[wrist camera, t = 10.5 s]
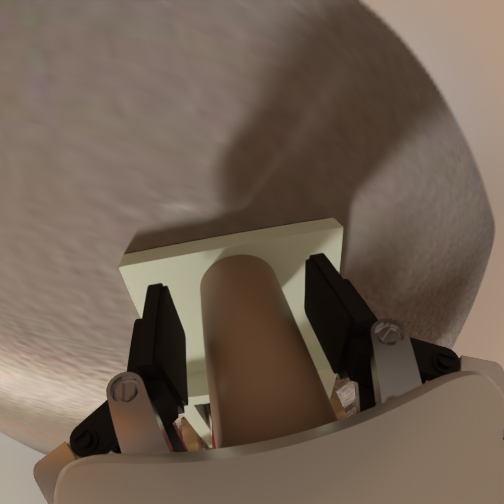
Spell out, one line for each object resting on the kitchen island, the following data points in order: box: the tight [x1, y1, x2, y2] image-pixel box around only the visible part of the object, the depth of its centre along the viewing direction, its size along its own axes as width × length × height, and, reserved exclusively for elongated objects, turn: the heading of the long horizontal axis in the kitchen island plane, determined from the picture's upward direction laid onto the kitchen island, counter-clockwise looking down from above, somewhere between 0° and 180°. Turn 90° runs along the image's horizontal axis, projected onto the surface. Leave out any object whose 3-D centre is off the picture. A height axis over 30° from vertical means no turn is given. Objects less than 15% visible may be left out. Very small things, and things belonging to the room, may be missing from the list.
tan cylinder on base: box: [119, 218, 343, 449], centre depth 15 cm, size 11×21×11 cm, turn 5°
